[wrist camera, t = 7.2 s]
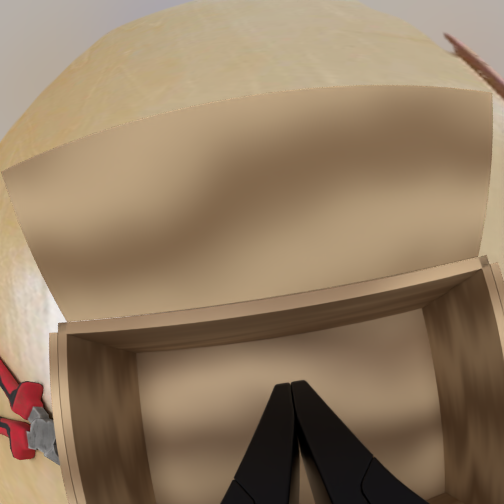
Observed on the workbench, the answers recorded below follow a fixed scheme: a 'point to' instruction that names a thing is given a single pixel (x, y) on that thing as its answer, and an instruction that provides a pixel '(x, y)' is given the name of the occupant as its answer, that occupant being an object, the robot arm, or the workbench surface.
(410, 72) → the workbench surface
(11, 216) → the workbench surface
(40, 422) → the pliers
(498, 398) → the carton
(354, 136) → the far flap
